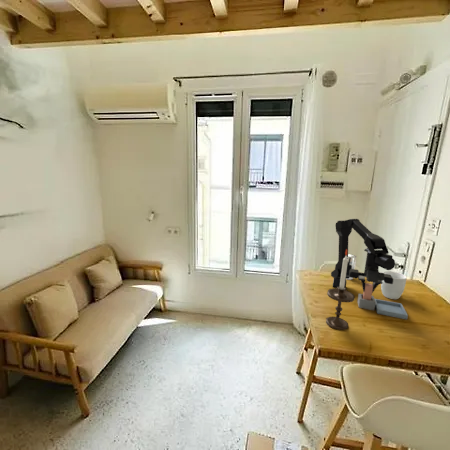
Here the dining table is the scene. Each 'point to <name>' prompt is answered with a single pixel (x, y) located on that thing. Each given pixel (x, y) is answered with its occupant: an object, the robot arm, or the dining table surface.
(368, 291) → the peg
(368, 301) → the hollow square socket
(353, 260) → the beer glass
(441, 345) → the dining table surface
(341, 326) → the candlestick
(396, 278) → the mug
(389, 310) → the tray
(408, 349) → the dining table surface
